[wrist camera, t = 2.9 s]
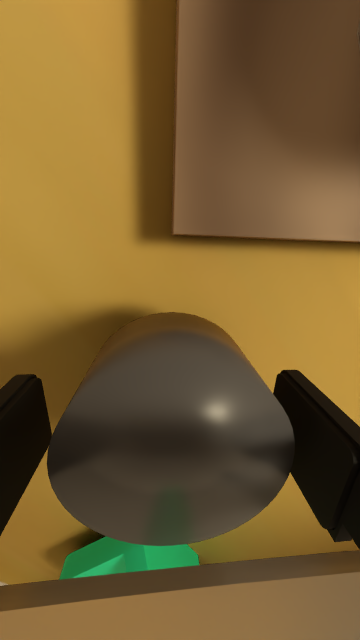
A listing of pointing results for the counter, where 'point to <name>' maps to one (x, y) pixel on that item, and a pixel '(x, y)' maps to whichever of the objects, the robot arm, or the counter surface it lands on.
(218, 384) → the grey sphere
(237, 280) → the counter surface
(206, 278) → the counter surface
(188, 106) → the pipe flange plate
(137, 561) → the camera mount
